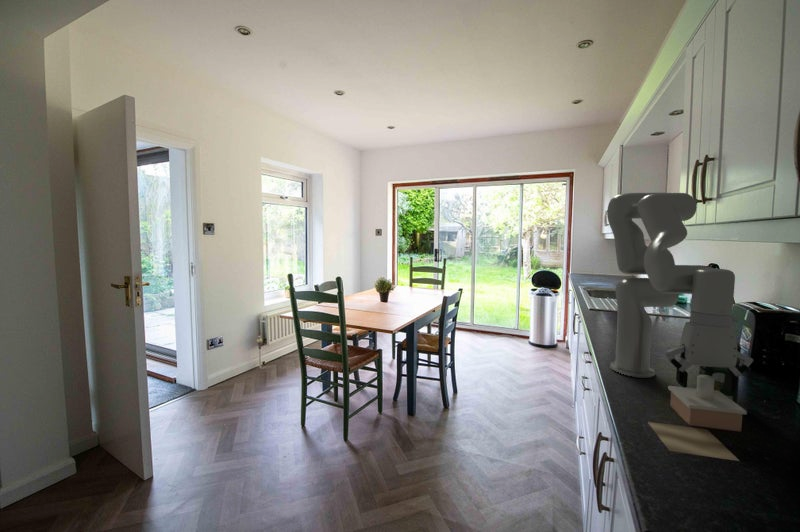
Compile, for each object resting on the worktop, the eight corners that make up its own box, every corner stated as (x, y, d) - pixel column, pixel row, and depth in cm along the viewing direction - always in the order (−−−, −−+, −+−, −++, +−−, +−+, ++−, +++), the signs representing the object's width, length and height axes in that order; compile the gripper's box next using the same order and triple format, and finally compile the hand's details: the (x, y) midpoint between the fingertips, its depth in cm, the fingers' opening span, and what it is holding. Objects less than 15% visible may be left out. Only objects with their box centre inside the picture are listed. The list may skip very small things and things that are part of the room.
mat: (647, 424, 85) (647, 421, 85) (706, 431, 82) (706, 429, 82) (669, 453, 74) (669, 450, 73) (739, 463, 70) (740, 461, 70)
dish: (670, 407, 93) (671, 389, 92) (715, 412, 90) (717, 394, 90) (689, 427, 83) (690, 407, 83) (740, 434, 81) (742, 413, 80)
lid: (668, 388, 93) (669, 366, 93) (718, 393, 90) (719, 371, 90) (688, 408, 83) (690, 383, 82) (746, 414, 80) (748, 389, 79)
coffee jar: (696, 393, 101) (701, 330, 100) (734, 401, 96) (739, 335, 95) (697, 406, 94) (702, 338, 92) (738, 415, 89) (744, 344, 87)
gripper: (744, 318, 86) (738, 385, 87) (661, 314, 91) (657, 377, 92) (766, 325, 79) (759, 399, 80) (675, 320, 83) (670, 390, 85)
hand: (705, 387), depth 86 cm, fingers open, 9 cm apart
